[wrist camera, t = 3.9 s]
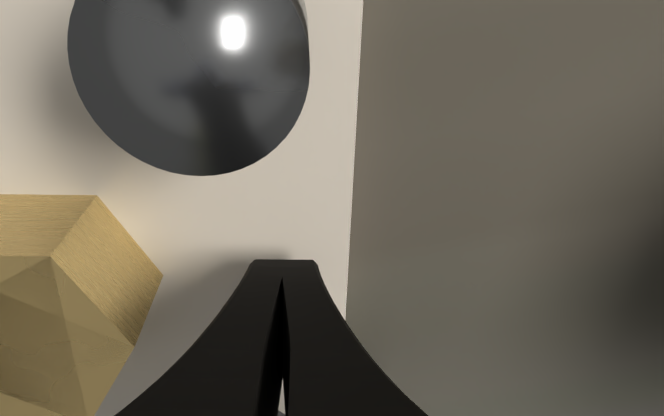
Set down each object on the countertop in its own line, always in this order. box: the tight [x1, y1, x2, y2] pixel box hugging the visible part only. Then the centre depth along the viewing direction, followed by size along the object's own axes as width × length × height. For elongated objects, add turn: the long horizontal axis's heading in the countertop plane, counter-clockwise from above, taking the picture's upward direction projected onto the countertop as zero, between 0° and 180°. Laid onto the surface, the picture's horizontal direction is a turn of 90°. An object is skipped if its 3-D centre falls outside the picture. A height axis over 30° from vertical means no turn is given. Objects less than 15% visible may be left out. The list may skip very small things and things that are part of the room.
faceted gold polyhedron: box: [0, 194, 163, 416], centre depth 11 cm, size 4×5×2 cm
